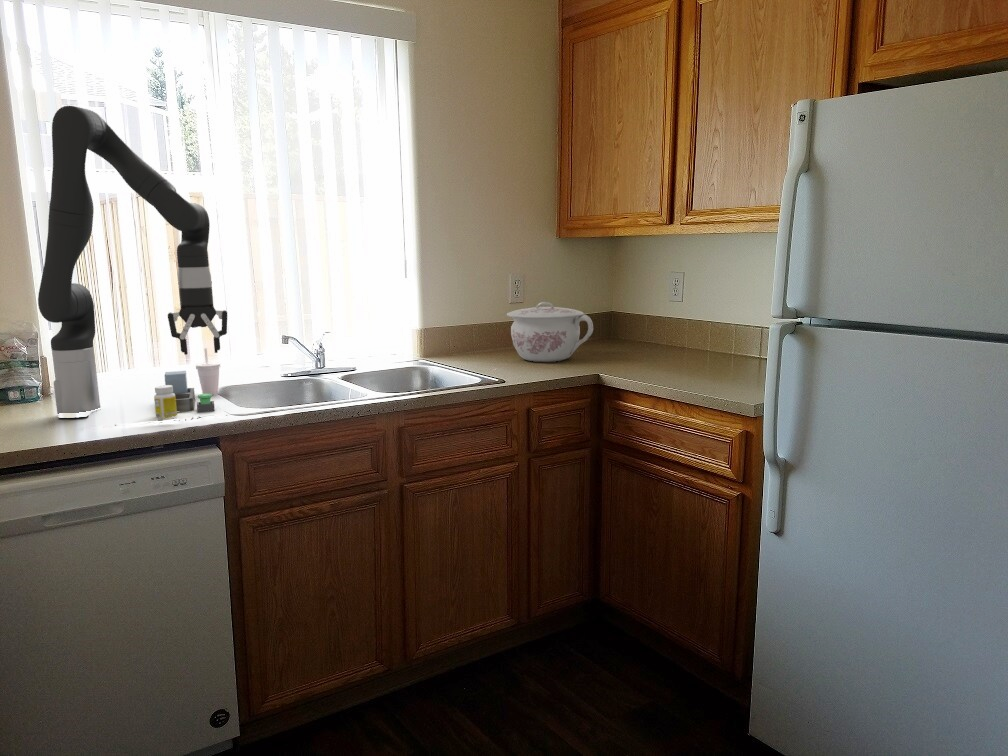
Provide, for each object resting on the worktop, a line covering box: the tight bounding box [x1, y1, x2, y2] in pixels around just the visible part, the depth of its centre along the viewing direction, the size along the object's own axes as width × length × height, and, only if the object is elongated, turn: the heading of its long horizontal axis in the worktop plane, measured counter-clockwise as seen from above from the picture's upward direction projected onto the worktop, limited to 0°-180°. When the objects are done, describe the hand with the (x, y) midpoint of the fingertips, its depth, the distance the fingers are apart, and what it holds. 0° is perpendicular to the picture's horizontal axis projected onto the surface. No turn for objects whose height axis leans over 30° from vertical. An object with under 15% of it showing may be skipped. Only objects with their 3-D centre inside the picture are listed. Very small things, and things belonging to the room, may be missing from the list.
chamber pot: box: [506, 301, 594, 363], centre depth 269 cm, size 28×28×21 cm
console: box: [196, 400, 216, 413], centre depth 191 cm, size 4×4×3 cm
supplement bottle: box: [153, 385, 178, 419], centre depth 185 cm, size 5×5×8 cm
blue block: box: [164, 370, 189, 394], centre depth 200 cm, size 5×5×8 cm
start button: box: [197, 393, 213, 405], centre depth 191 cm, size 3×3×4 cm
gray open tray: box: [175, 387, 196, 413], centre depth 197 cm, size 8×17×4 cm, turn 21°
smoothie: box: [195, 347, 221, 396], centre depth 211 cm, size 6×6×14 cm
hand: (201, 353), depth 189 cm, fingers open, 6 cm apart
